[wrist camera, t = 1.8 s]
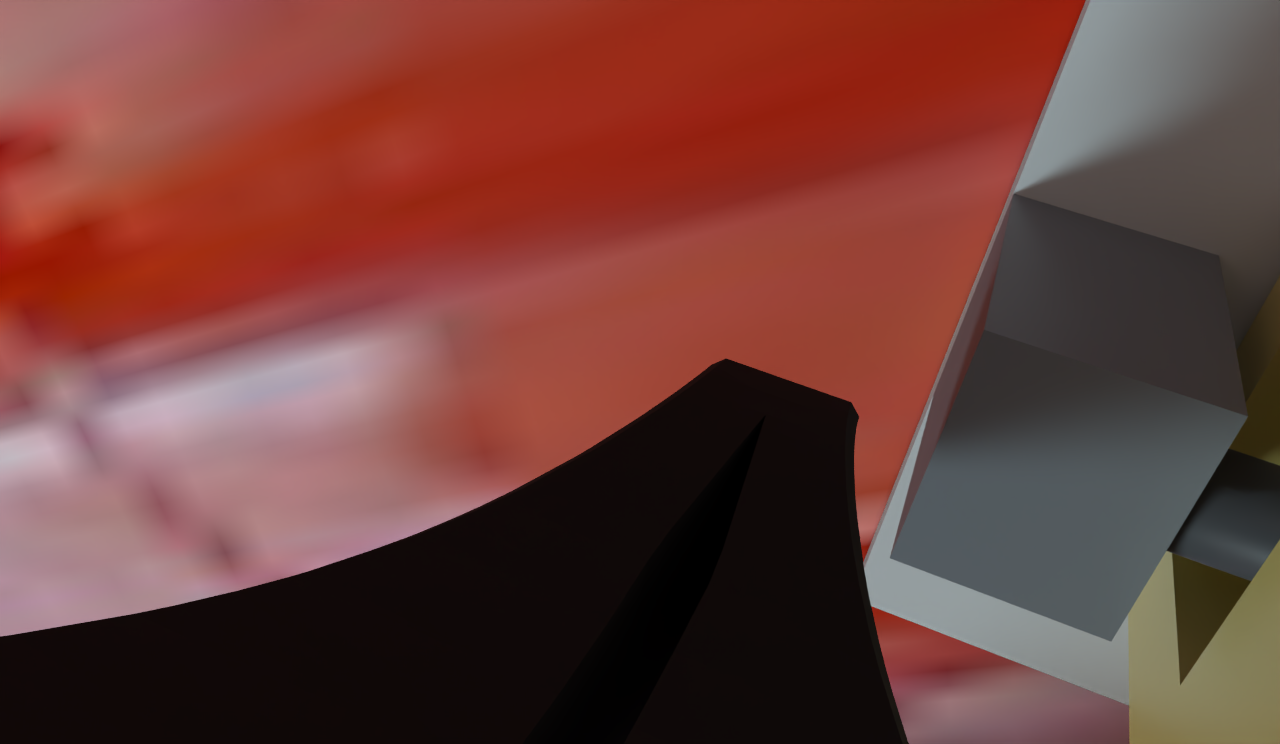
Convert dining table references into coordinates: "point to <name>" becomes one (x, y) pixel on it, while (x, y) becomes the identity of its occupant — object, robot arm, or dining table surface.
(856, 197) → the dining table surface
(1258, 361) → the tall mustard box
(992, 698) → the dining table surface
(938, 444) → the grey board with rod
